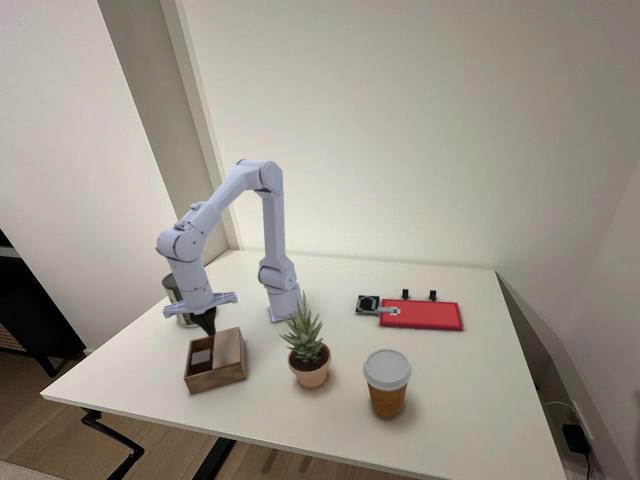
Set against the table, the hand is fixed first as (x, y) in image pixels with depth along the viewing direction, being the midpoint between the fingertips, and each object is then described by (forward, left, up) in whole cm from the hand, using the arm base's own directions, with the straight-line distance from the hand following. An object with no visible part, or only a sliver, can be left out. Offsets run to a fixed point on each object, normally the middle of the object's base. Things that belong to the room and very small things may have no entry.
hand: (212, 333), depth 73 cm
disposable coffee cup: (-33, +25, -11) cm, 43 cm away
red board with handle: (-51, -2, -11) cm, 52 cm away
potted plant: (-20, +12, -11) cm, 26 cm away
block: (+4, 0, -10) cm, 11 cm away
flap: (-2, 0, -5) cm, 5 cm away
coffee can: (+8, -24, -11) cm, 27 cm away
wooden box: (+1, 0, -10) cm, 10 cm away
